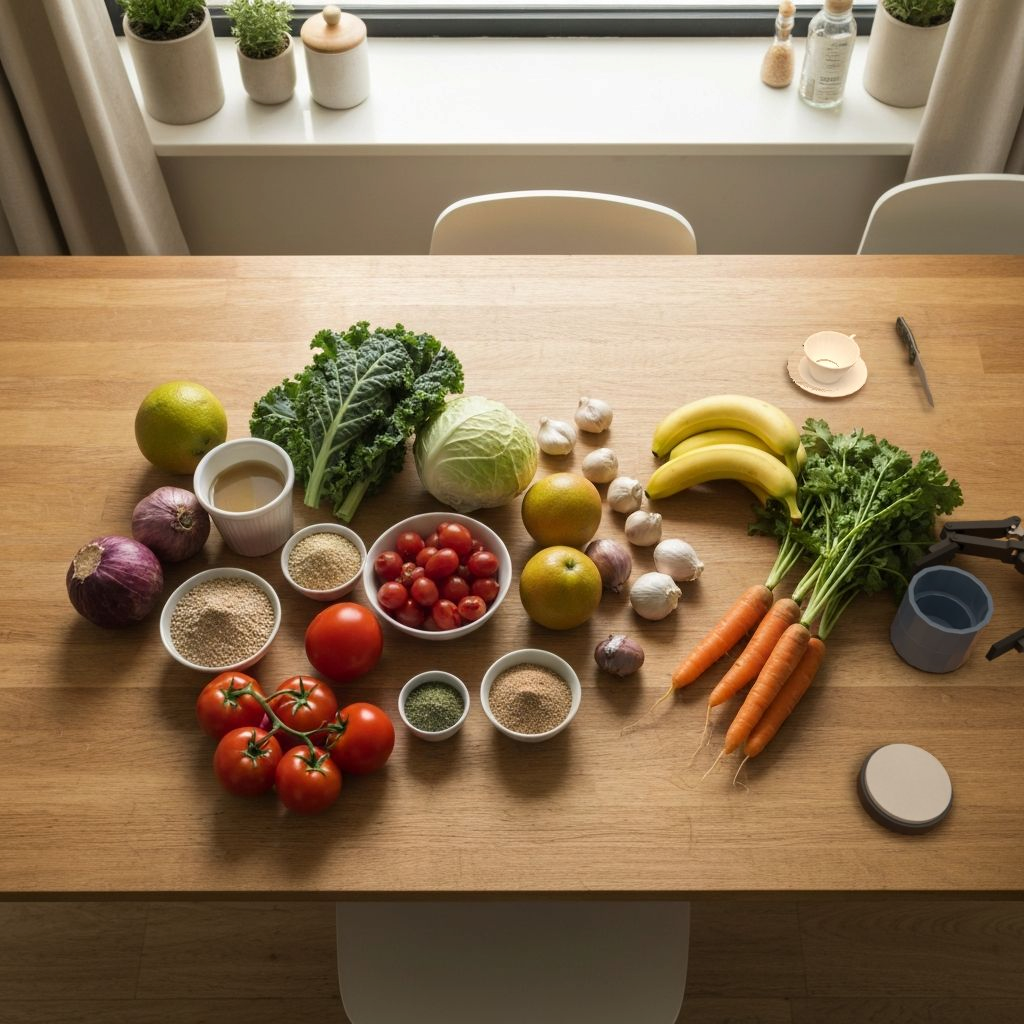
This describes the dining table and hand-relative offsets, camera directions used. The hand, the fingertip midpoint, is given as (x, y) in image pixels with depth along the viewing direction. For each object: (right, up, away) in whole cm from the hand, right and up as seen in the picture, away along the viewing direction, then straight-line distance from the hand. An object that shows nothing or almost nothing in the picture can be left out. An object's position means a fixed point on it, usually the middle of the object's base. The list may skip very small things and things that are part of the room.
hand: (950, 610), depth 130 cm
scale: (-9, -20, -8) cm, 23 cm away
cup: (-1, -4, +4) cm, 6 cm away
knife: (+8, +34, +35) cm, 49 cm away
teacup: (-5, +33, +34) cm, 48 cm away
